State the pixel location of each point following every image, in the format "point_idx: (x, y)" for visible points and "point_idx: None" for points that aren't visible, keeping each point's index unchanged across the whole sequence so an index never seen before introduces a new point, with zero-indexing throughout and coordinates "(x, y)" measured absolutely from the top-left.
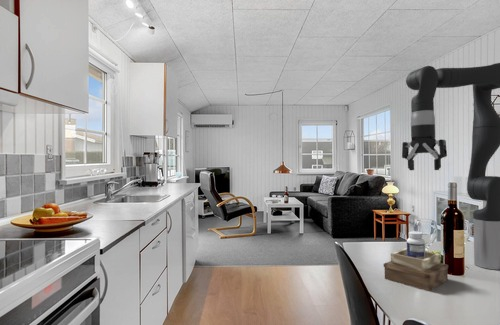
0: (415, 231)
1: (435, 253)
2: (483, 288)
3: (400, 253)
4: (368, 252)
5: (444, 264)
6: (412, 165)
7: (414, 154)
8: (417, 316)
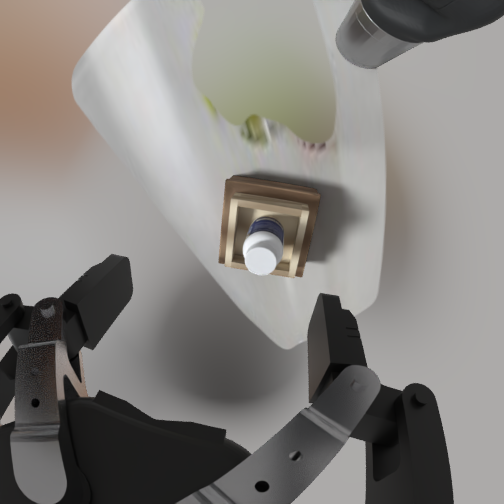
0: (256, 249)
1: (299, 210)
2: (370, 196)
3: (234, 239)
4: (127, 111)
5: (313, 196)
6: (111, 298)
7: (78, 384)
8: (304, 336)
